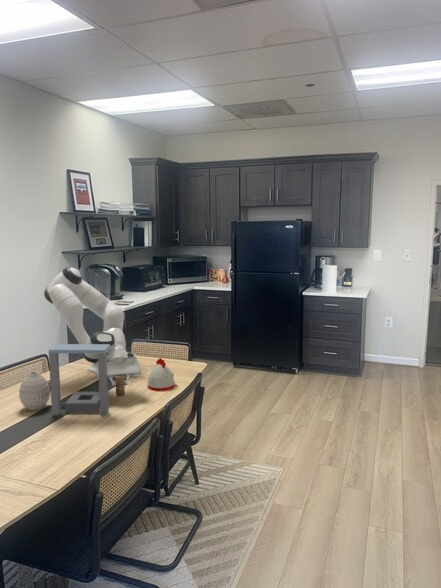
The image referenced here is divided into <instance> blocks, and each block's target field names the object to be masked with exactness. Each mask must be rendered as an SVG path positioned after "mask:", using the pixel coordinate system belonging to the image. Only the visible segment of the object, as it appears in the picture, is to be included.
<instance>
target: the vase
mask: <svg viewBox="0 0 441 588" xmlns="http://www.w3.org/2000/svg"><path fill="white" fill-rule="evenodd" d="M18 394H19V395H18V396H19V397H18V398H19V401H20V403H21V404H22V405H23V407H24V408H26V409H27V411H30V412H31V411H32V412H35V411H40V410H42V409H43V408H44V407H45V406H46V405H47V404H48V401H49V399H50V397H51V391H50V388H49V384H48V382H47V379H46V378H45V377H44V376H43V375H41V374H40V373H39V372H38V371H30V372H29V373H28V375H27V376H26V377H25V378H24V379H23V380H22V382H21V384H20V386H19V389H18Z"/></svg>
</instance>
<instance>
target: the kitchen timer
mask: <svg viewBox="0 0 441 588" xmlns="http://www.w3.org/2000/svg"><path fill="white" fill-rule="evenodd" d="M155 362H156V366H154V367H153V368H152V369H151V372H150V373H149V374H148V379H147V388H148V389H149V390H150V391H154V392H164V391H165V392H166V391H171V390H172V389H174V388H175V383H176V382H175V378H174V377H175V376H174V372H173V371H171V369H170V368H169V367H168V366H167V365H166V363H167V362H165V359H163V358H161V357H159V358H158V359H156V361H155Z"/></svg>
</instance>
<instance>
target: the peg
mask: <svg viewBox="0 0 441 588" xmlns="http://www.w3.org/2000/svg"><path fill="white" fill-rule="evenodd" d="M124 380H125V377H124V376H123V375H118V376H115V380H114V381H116V386H115V395H116V397H119V398H120V397H124V396H125V395H126V389H125V387H126V385H124Z"/></svg>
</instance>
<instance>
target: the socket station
mask: <svg viewBox="0 0 441 588" xmlns="http://www.w3.org/2000/svg"><path fill="white" fill-rule="evenodd" d="M109 348H110V344H78V343H72V344H71V343H66V344H65V343H57V344H55V345H53V346H52V347H51V348H49V349H48V363H49V366H48V367H49V380H50V386H51V391H50V399H51V416H60V415H61V414H62V396H61V395H62V394H61V379H60V361H59V354H83V353H94V354H98V372H99V379H98V391H75V392H74V393H73V394H72V395H71V396H70V397H69V398H68V399H67V400H66V402H64V406H65V414H98V412H99V416H108V414H109V413H110V411H109V410H110V409H109V387H108V386H109V385H108V380H109V379H108V377H107V351H108V350H109Z"/></svg>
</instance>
